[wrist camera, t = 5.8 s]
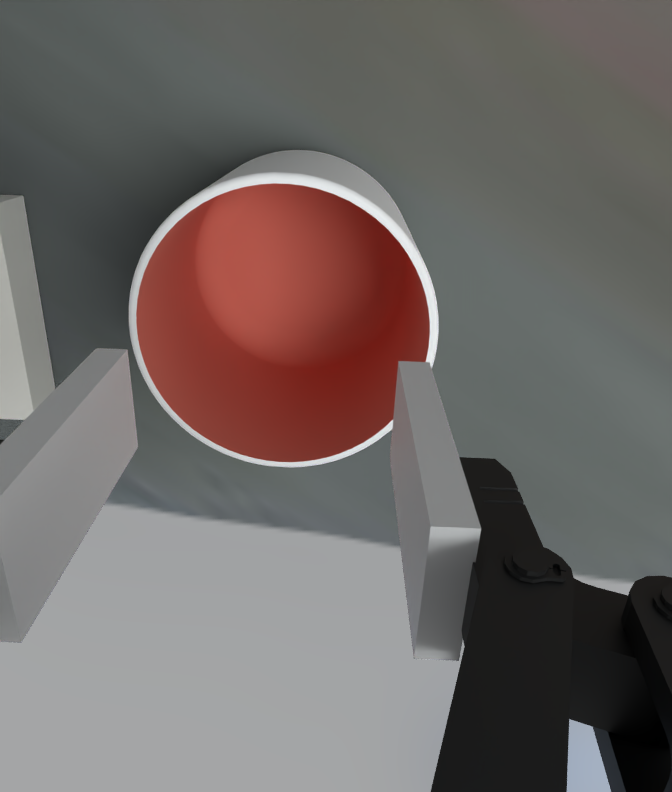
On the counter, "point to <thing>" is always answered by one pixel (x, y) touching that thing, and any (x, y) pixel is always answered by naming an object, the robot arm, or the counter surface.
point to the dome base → (20, 318)
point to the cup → (283, 310)
